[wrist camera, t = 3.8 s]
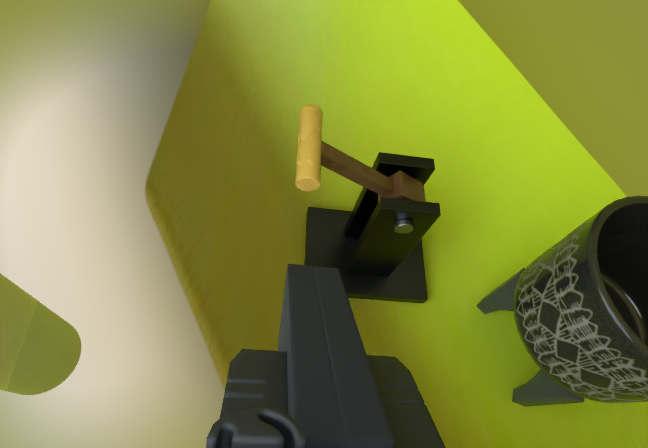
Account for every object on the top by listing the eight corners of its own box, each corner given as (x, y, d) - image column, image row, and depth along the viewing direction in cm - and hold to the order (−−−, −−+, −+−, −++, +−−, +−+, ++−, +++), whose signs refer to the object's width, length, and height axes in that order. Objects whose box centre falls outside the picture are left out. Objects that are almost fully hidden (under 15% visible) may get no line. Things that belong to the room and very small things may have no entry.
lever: (286, 188, 27) (309, 171, 25) (291, 116, 30) (313, 97, 28) (404, 240, 33) (428, 229, 31) (399, 176, 36) (421, 163, 34)
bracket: (303, 294, 40) (328, 228, 28) (306, 212, 45) (330, 124, 33) (423, 303, 42) (495, 244, 30) (415, 223, 46) (476, 144, 34)
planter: (434, 336, 41) (552, 267, 25) (508, 259, 46) (642, 164, 31) (541, 450, 37) (751, 450, 22) (607, 353, 43) (812, 298, 27)
